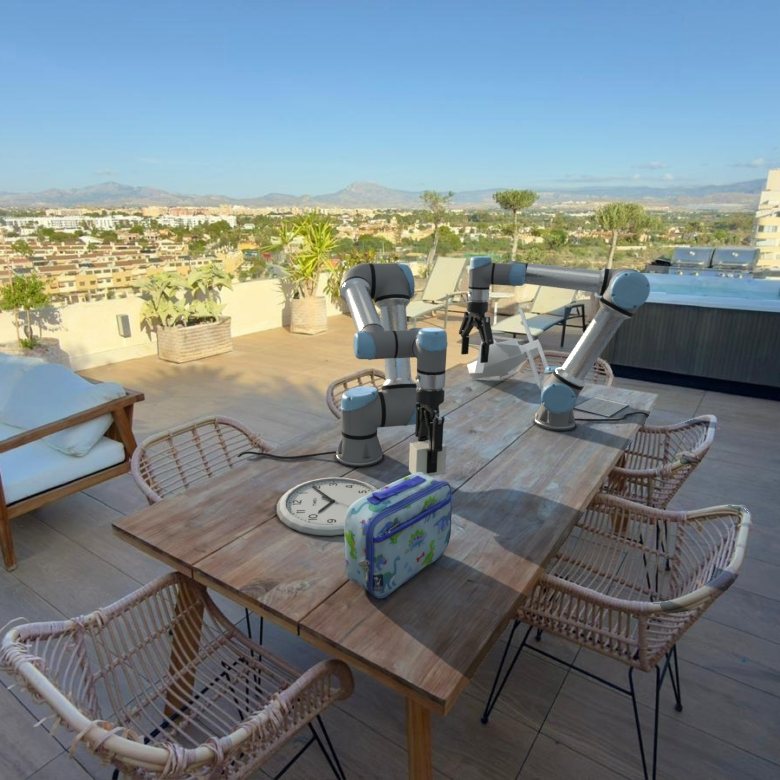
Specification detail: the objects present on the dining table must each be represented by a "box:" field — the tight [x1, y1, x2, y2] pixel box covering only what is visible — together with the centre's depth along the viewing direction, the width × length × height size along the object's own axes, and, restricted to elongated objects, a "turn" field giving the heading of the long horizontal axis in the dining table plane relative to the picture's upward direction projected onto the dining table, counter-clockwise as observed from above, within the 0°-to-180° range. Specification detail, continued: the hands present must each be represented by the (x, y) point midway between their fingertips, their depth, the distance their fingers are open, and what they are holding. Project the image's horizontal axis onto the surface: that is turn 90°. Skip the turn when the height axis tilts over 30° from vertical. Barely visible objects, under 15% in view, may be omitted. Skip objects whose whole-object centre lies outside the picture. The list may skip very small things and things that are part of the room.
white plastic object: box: [467, 307, 550, 392], centre depth 256 cm, size 37×45×31 cm
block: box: [408, 440, 447, 477], centre depth 144 cm, size 5×9×8 cm, turn 110°
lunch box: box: [343, 472, 453, 599], centre depth 113 cm, size 26×11×21 cm, turn 134°
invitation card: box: [573, 396, 629, 418], centre depth 226 cm, size 21×1×15 cm
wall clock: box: [276, 476, 379, 537], centre depth 142 cm, size 30×2×30 cm
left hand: (427, 467), depth 145 cm, fingers closed on block, 5 cm apart
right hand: (474, 358), depth 194 cm, fingers open, 13 cm apart
